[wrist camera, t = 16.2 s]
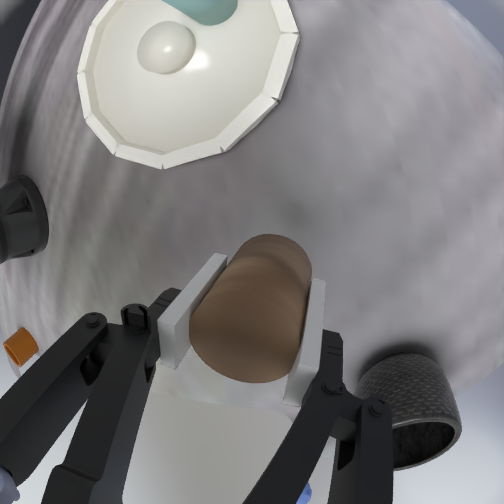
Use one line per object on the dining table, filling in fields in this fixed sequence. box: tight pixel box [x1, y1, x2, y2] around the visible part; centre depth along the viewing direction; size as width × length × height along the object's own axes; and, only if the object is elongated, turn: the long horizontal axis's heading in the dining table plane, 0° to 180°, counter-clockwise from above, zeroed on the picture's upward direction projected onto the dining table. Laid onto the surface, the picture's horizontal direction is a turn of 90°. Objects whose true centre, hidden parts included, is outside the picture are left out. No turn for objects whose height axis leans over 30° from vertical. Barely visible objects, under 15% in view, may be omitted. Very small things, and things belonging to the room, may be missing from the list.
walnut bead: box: [189, 234, 312, 383], centre depth 15 cm, size 5×5×7 cm
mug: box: [3, 327, 38, 367], centre depth 60 cm, size 9×12×9 cm
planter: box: [354, 353, 462, 471], centre depth 28 cm, size 14×14×13 cm
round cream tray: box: [77, 0, 300, 169], centre depth 23 cm, size 26×26×3 cm
